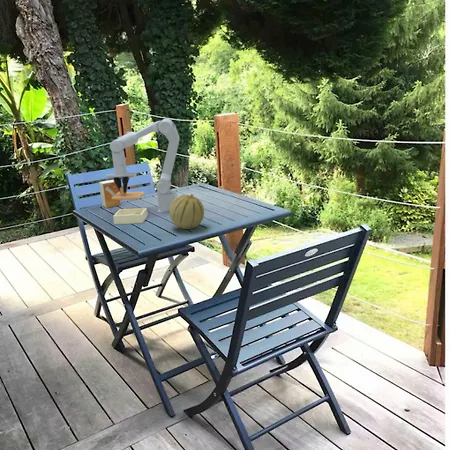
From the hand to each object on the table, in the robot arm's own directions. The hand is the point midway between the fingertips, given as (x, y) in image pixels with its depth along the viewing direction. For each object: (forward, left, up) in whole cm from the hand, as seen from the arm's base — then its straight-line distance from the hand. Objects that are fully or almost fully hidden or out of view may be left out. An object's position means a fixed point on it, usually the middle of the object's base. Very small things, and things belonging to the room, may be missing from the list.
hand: (123, 192), depth 226 cm
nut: (-9, +13, -10) cm, 18 cm away
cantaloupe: (-35, +29, -11) cm, 46 cm away
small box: (+12, -15, -11) cm, 22 cm away
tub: (-6, +15, -10) cm, 19 cm away
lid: (-2, 0, -2) cm, 3 cm away
